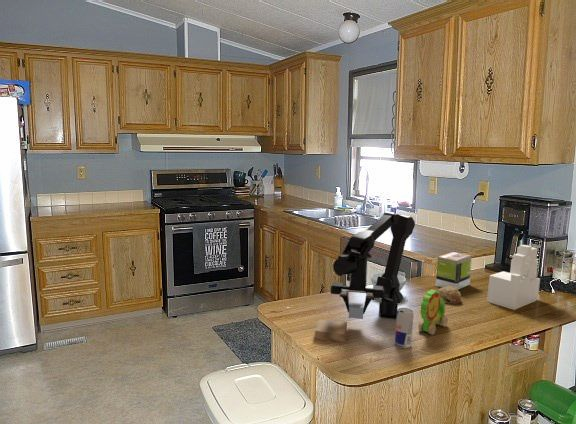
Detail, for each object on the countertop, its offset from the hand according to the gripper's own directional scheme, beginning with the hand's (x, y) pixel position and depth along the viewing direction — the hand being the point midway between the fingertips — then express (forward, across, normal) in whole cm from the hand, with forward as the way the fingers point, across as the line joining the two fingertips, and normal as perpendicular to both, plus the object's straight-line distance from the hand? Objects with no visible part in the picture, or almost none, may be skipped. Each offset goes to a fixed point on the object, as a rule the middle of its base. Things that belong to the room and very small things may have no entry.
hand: (356, 312), depth 164 cm
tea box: (+6, -43, -62) cm, 76 cm away
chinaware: (+6, -12, -40) cm, 42 cm away
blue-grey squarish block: (+1, 0, 0) cm, 1 cm away
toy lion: (+6, -27, -5) cm, 28 cm away
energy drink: (+6, -16, +11) cm, 20 cm away
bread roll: (+6, -38, -40) cm, 56 cm away
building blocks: (+6, -66, -47) cm, 81 cm away
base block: (+5, +8, +9) cm, 13 cm away
